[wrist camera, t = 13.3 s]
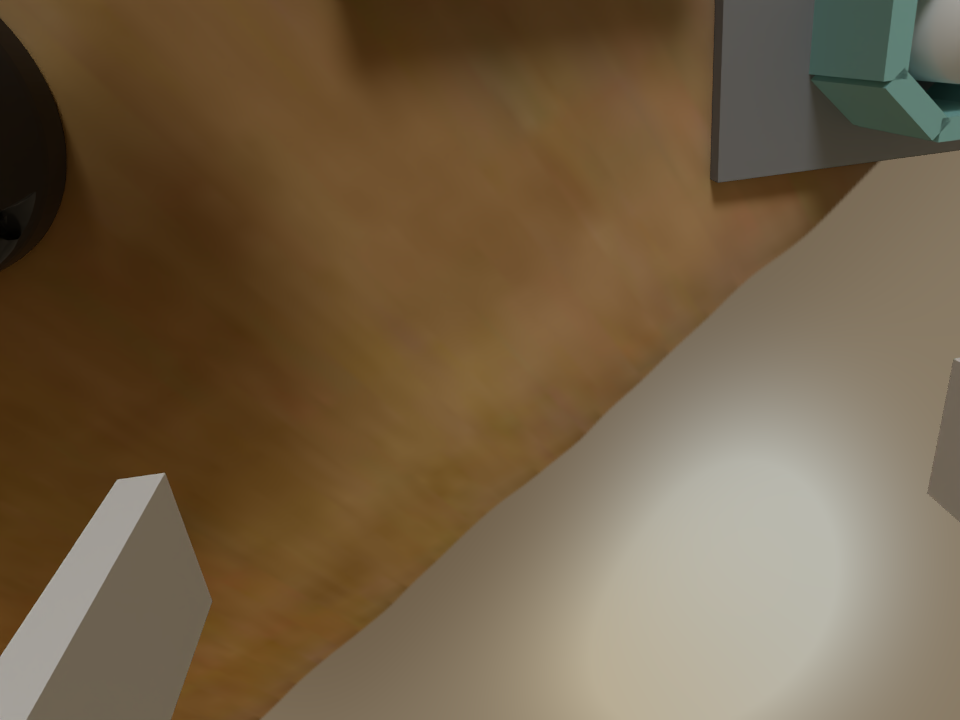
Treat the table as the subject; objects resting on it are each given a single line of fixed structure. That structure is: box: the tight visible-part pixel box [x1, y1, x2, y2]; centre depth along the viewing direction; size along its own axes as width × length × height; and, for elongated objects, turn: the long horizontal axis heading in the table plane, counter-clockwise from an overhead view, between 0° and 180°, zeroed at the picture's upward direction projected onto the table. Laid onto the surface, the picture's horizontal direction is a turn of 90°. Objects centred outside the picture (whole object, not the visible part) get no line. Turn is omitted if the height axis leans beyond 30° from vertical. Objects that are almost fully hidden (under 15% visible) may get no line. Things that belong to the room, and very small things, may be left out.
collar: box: [809, 0, 960, 142], centre depth 31 cm, size 9×9×6 cm
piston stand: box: [710, 0, 960, 183], centre depth 32 cm, size 18×13×6 cm
